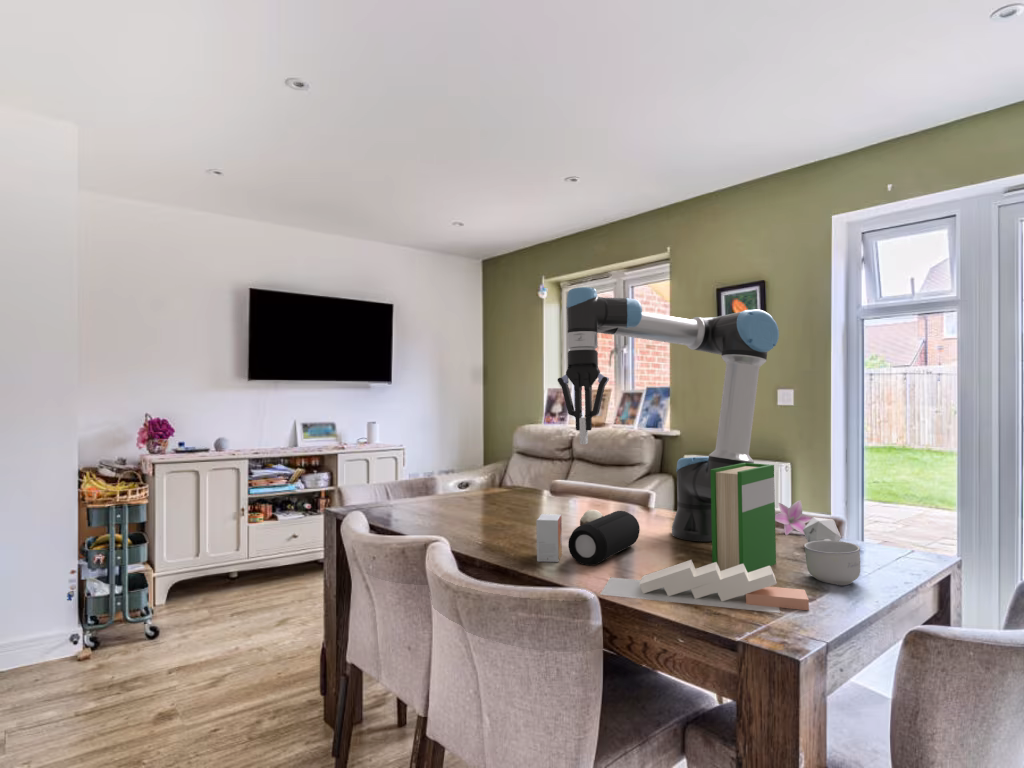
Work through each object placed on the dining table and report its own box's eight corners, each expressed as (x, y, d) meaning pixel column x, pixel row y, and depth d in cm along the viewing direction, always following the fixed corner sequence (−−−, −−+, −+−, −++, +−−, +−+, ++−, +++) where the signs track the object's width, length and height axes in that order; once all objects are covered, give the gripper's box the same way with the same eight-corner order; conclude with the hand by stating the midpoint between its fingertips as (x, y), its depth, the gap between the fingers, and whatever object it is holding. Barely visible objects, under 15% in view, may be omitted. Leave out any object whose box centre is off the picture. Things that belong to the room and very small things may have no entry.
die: (801, 545, 164) (793, 521, 160) (827, 529, 165) (820, 504, 160) (823, 563, 156) (816, 538, 152) (850, 546, 157) (843, 521, 153)
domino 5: (746, 593, 116) (808, 599, 112) (745, 584, 121) (804, 589, 118) (746, 604, 116) (808, 610, 112) (745, 594, 121) (804, 599, 118)
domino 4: (717, 591, 118) (772, 573, 114) (717, 582, 123) (769, 565, 120) (721, 601, 117) (776, 583, 114) (721, 591, 123) (774, 574, 120)
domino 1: (639, 584, 123) (689, 567, 119) (642, 575, 128) (691, 559, 125) (643, 593, 122) (694, 577, 119) (646, 584, 128) (695, 568, 125)
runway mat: (600, 596, 122) (599, 594, 122) (610, 579, 134) (610, 577, 134) (780, 615, 111) (780, 612, 111) (775, 594, 122) (775, 592, 122)
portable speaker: (609, 543, 167) (609, 507, 167) (643, 547, 162) (642, 510, 162) (565, 565, 146) (564, 524, 146) (602, 571, 141) (601, 529, 141)
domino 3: (690, 589, 119) (744, 571, 116) (692, 580, 125) (743, 563, 122) (695, 599, 119) (748, 581, 116) (696, 589, 125) (747, 572, 121)
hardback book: (743, 580, 132) (741, 472, 133) (712, 573, 138) (710, 469, 138) (776, 563, 145) (774, 464, 145) (746, 557, 150) (744, 462, 150)
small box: (558, 563, 148) (558, 520, 148) (536, 562, 149) (535, 519, 149) (562, 554, 155) (561, 514, 156) (541, 553, 157) (540, 513, 157)
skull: (580, 525, 185) (601, 502, 182) (603, 551, 181) (625, 528, 177) (563, 531, 175) (584, 507, 172) (587, 559, 171) (609, 535, 167)
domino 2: (663, 586, 121) (716, 569, 118) (666, 578, 127) (716, 561, 123) (668, 596, 121) (720, 579, 117) (670, 587, 126) (720, 571, 123)
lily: (764, 535, 177) (771, 512, 173) (773, 515, 185) (780, 493, 181) (803, 551, 172) (811, 528, 168) (811, 530, 180) (819, 507, 175)
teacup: (860, 592, 123) (859, 553, 123) (802, 584, 129) (801, 547, 129) (862, 574, 135) (861, 539, 135) (809, 568, 141) (808, 534, 141)
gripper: (553, 349, 148) (554, 444, 148) (605, 347, 144) (607, 445, 143) (561, 351, 155) (562, 442, 155) (611, 349, 151) (612, 442, 150)
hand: (583, 443), depth 149 cm, fingers closed
